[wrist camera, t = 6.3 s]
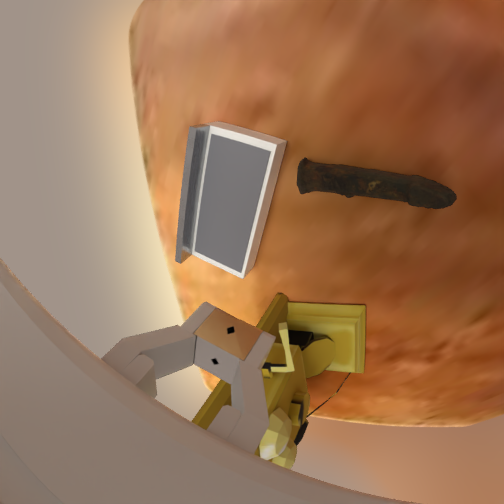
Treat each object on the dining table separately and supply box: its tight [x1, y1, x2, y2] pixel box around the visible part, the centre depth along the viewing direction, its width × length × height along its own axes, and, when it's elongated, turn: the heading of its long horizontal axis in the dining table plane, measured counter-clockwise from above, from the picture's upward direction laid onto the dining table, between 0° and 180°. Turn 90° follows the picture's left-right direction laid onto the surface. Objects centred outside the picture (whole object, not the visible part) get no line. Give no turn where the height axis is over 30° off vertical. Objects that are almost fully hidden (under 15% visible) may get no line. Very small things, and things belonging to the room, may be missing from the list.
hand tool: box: [297, 158, 457, 209], centre depth 30 cm, size 19×4×5 cm, turn 91°
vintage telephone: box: [191, 293, 366, 470], centre depth 36 cm, size 31×14×30 cm, turn 14°
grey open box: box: [175, 121, 287, 279], centre depth 39 cm, size 10×20×7 cm, turn 167°
